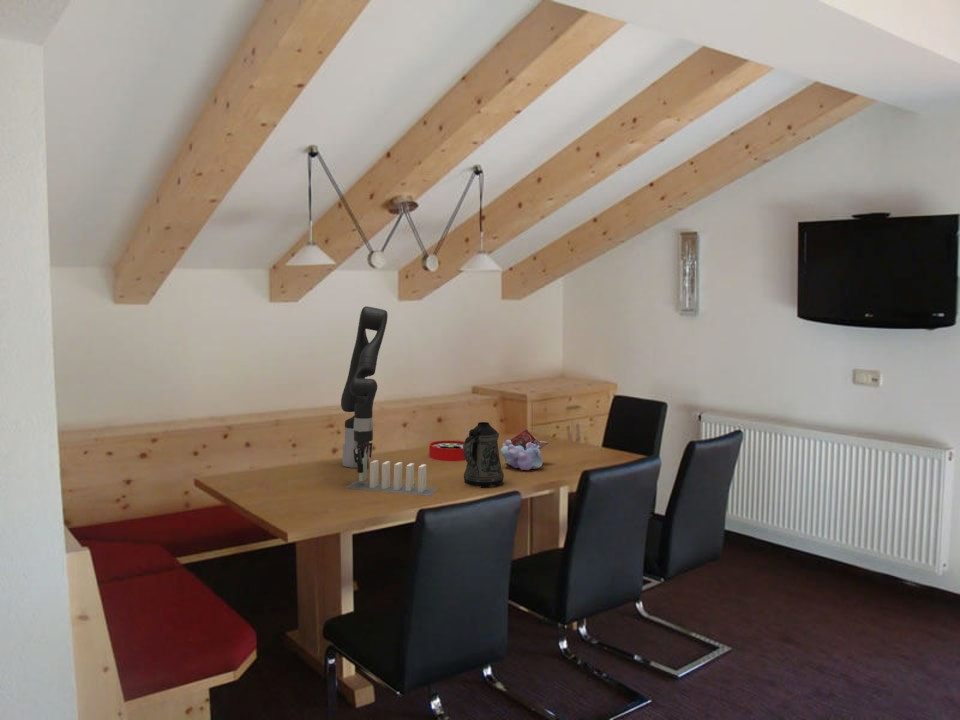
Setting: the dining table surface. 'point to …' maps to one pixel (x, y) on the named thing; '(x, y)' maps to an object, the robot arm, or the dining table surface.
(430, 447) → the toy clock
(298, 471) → the dining table surface
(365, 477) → the domino
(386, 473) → the domino
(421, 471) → the domino
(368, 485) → the mat
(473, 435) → the beer stein
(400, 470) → the domino
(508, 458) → the swirly pastel blob
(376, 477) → the domino
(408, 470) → the domino
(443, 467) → the dining table surface
